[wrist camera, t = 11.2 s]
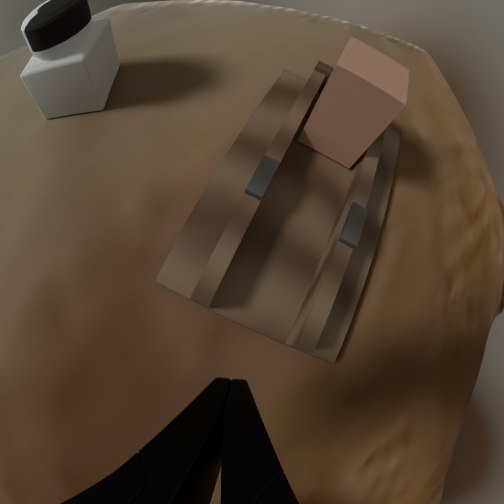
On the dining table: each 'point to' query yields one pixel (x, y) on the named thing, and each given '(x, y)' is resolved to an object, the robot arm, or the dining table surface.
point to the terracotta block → (356, 103)
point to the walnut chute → (285, 226)
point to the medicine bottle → (68, 58)
